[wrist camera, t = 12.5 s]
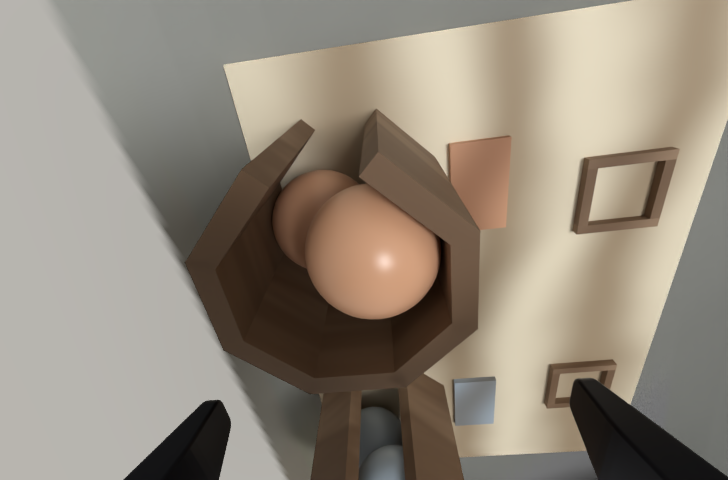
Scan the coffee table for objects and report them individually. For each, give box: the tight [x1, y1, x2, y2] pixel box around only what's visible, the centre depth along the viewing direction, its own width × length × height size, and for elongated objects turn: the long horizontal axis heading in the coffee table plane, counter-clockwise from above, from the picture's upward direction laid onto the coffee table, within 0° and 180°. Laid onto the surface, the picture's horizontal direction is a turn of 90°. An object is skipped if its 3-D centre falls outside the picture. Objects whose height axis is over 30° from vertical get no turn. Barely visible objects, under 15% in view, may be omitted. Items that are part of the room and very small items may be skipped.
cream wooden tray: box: [185, 0, 728, 480], centre depth 15 cm, size 19×26×8 cm
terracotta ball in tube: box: [272, 170, 359, 269], centre depth 14 cm, size 4×4×4 cm
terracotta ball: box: [305, 183, 441, 319], centre depth 10 cm, size 4×4×4 cm
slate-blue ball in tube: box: [359, 407, 403, 468], centre depth 20 cm, size 4×4×4 cm
